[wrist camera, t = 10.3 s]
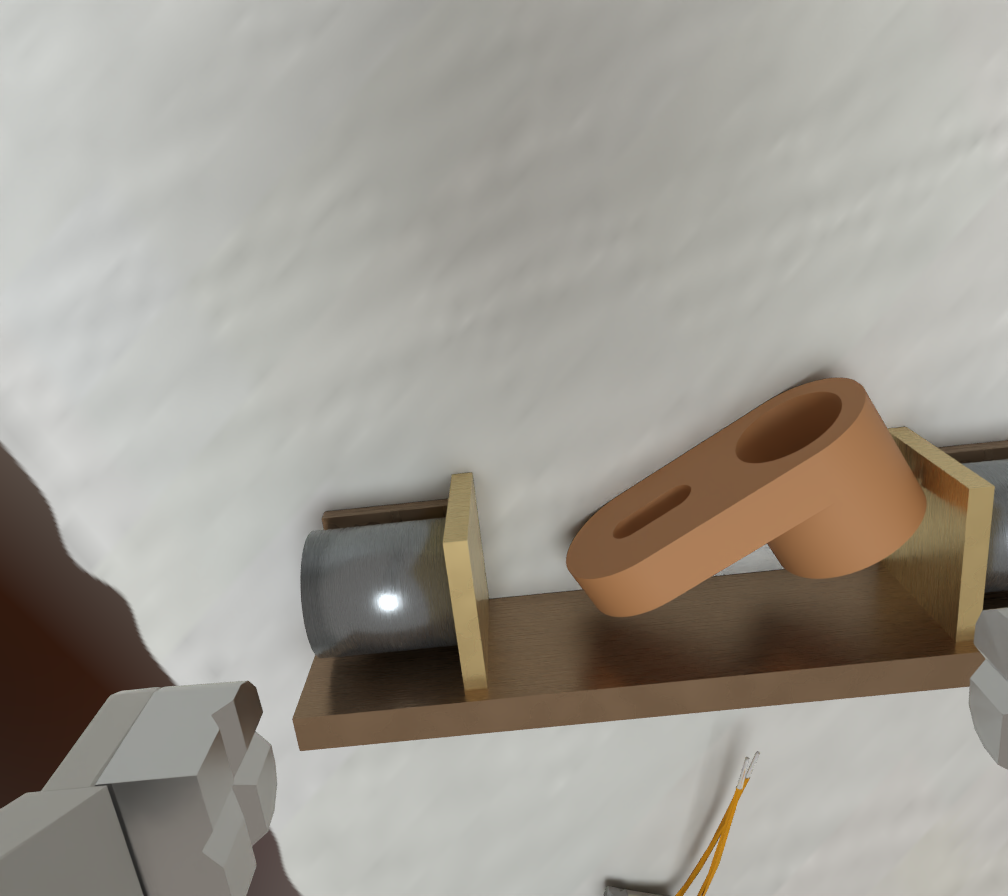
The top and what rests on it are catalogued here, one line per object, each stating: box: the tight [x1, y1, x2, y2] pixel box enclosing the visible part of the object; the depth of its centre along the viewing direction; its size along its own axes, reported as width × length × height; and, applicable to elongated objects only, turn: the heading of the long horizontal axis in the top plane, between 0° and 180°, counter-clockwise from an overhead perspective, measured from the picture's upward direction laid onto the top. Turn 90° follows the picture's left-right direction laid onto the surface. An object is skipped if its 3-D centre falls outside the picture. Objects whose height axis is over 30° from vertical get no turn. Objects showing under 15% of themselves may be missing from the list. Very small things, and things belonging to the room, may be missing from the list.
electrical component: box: [604, 751, 760, 896], centre depth 56 cm, size 24×6×5 cm, turn 168°
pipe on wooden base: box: [292, 427, 1008, 751], centre depth 45 cm, size 10×44×10 cm, turn 96°
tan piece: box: [566, 378, 927, 617], centre depth 45 cm, size 18×8×7 cm
